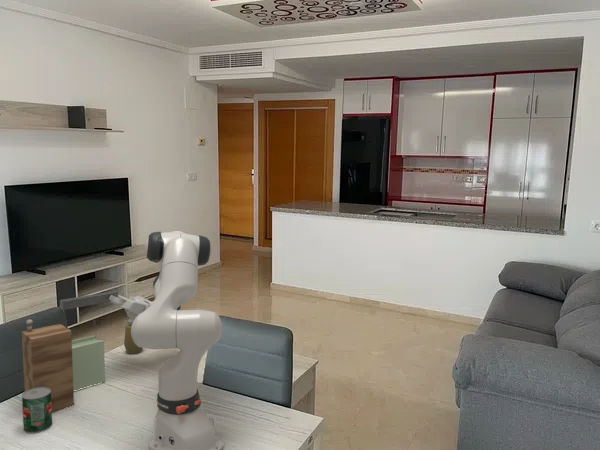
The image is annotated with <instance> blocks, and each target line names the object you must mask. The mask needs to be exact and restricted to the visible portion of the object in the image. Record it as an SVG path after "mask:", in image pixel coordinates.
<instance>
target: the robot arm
mask: <svg viewBox="0 0 600 450" xmlns="http://www.w3.org/2000/svg"><path fill="white" fill-rule="evenodd" d="M144 242H145V244H144V253H145V255H146V258H147V259H148V261H149V262H151V263H152V262H153V263H156V264H158V265H159V272H158V275H157V276H156V277H155V279H154V280H153V282H152V287H153V290H154V291H153V292H154V300H153V301H151V300H150V299H147V298H145V297H142V296H140V295H136V296H133V297H130V298H127V297H124V296H122V295H120V294H118V297H115V296H112V295H109V297H108V299H109V300H111V301H110V302H109V303H112V304H114V305H116V306H117V307H120V308H122V309H124V312H125V313H126V316H127V317H128V318H129V319H131V318H133V319H135V320H134V321H133V324H132V327H131V336H132V339H133V341H134V343H135V344H136V345H137V346H138V347H142V349H147V350H148V349H149V350H171V349H177V350H180V351H179V352H178V353H177V354H176V355H174V356H172V357H170V358H168V359H167V360H165V361H164V362H162V364H161V365H160V367H159V369H158V392H157V395H156V396H157V397H156V406H157V408H158V409H157V411H156V413H155V416H154V419H153V428H152V440H151V441H150V442H149V444H148V449H149V450H223V449H224V442H223V441H222V440H221V439H220V438H219V437H218V435H217V434H216V431H215V427H214V423H215V421H214V418H213V417H211V416H210V417H209V416H208V414H207V412H206V410H205V408H203V406H202V405H201V404H202V401H203V399H202V398H201V397H200V396H201V395H200V393H199V389H198V373H199V366H200V364H201V360H202V358H203V357H204V356H205V353H207V351H208V350H209V349H210V348H212V347H213V346H214V345H215V344H216V343H217V342H218V341H219V340H220V338H221V335H222V334H223V333H222V332H223V322H222V319H221V318H220V315H218V313H217V312H216V311H211V310H206V309H181V306H182V305H183V304H186V303H188V302H189V301H191V300H192V299H193V298H194V297H195V295H197V292H198V286H199V284H198V283H199V282H198V281H199V280H198V279H199V278H198V277H199V267H200V266H205V265H207V264H208V263H209V261H210V259H211V256H212V252H213V251H212V250H213V249H212V244H211V240H210V239H209V238H208V237H206V236H203V235H195V234H191V233H190V234H189V233H185V232H184V231H180V230H173V231H170V232H169V231H165V232H164V231H163V232H161V231H154V232H151V233H149V234H148V237H147V238H146V240H145V241H144Z"/></svg>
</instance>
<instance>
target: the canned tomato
mask: <svg viewBox="0 0 600 450" xmlns="http://www.w3.org/2000/svg"><path fill="white" fill-rule="evenodd" d="M21 402H22V403H21V405H22V423H23V424H22V425H23V429H22V430H23V431H24V432H25V433H27V434H38V433H42V432H45V431H46V430H48V429H51V427H52V426H53V412H52V407H51V389H50V388H47V387H37V388H32V389H29V390H27V391H24V392H23V393H22V394H21Z"/></svg>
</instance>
